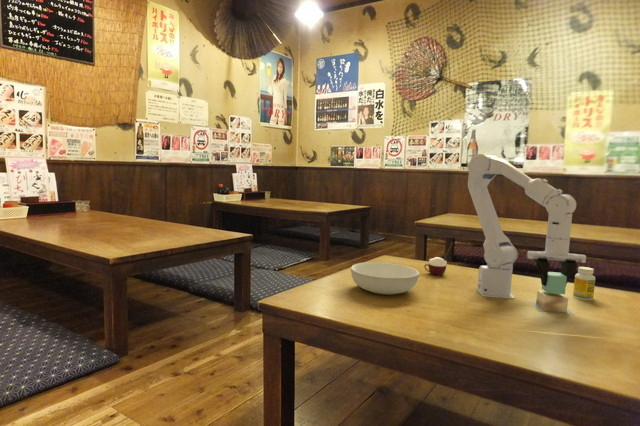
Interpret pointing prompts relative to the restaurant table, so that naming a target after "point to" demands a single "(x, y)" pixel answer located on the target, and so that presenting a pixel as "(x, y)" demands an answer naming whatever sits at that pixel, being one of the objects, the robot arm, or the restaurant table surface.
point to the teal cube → (555, 283)
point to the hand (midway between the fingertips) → (553, 285)
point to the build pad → (549, 311)
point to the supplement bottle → (584, 284)
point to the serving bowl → (384, 277)
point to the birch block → (552, 301)
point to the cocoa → (438, 264)
